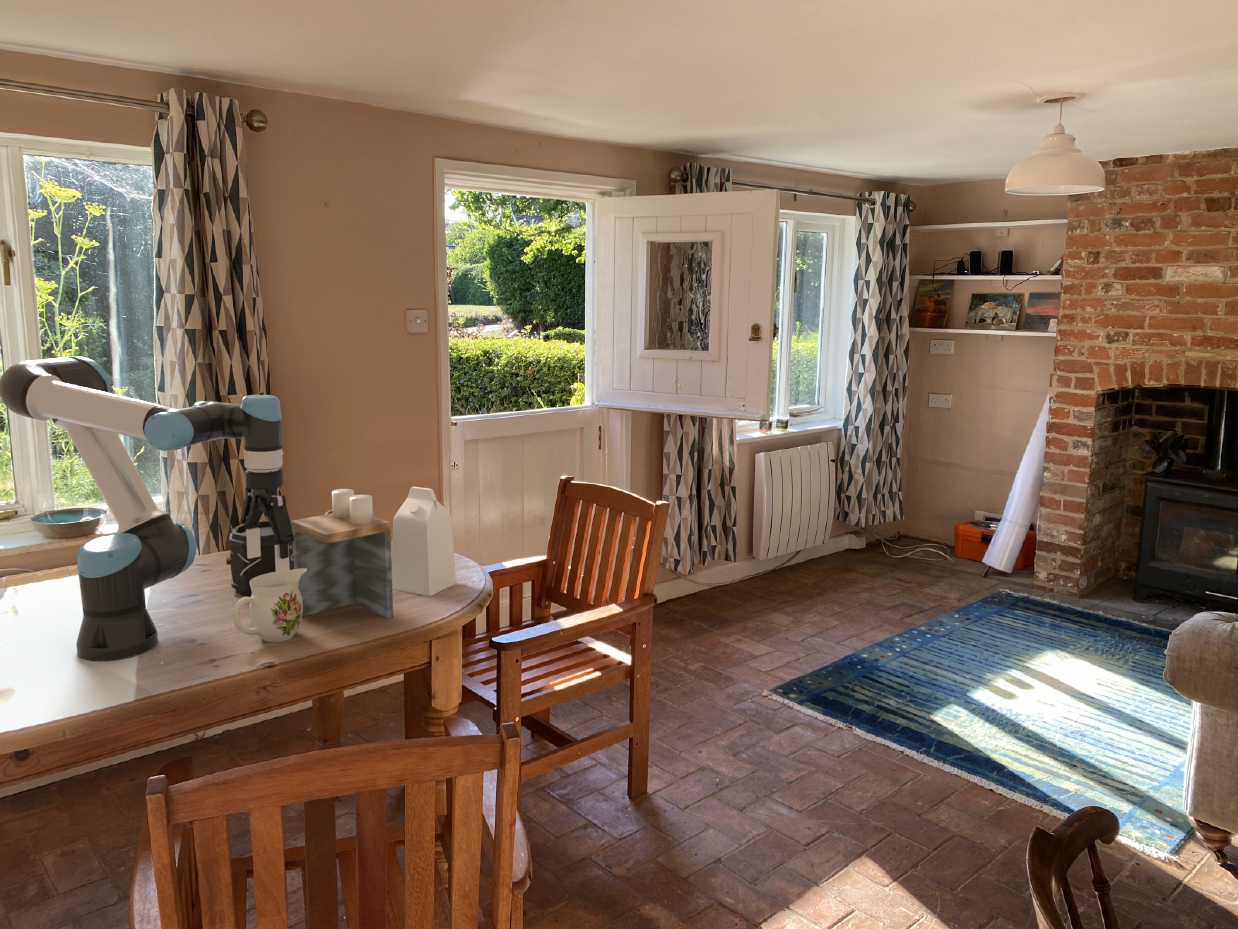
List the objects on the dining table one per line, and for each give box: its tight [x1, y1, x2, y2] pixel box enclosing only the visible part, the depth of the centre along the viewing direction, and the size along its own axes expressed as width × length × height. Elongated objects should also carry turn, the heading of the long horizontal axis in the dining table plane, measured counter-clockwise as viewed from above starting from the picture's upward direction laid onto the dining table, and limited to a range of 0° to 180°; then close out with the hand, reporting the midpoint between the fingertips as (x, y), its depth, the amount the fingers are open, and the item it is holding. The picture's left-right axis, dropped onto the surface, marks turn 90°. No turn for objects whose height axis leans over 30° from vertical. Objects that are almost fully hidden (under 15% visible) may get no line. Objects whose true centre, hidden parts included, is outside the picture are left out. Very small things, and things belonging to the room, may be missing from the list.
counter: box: [291, 513, 394, 619], centre depth 211 cm, size 16×16×23 cm
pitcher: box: [232, 568, 307, 643], centre depth 199 cm, size 11×18×14 cm, turn 144°
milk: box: [391, 486, 457, 597], centre depth 234 cm, size 12×12×26 cm
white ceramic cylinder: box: [331, 488, 355, 519], centre depth 213 cm, size 5×5×6 cm
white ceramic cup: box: [349, 494, 374, 525], centre depth 208 cm, size 5×5×6 cm
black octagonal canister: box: [225, 519, 294, 597], centre depth 231 cm, size 18×18×16 cm
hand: (268, 564), depth 197 cm, fingers open, 13 cm apart
